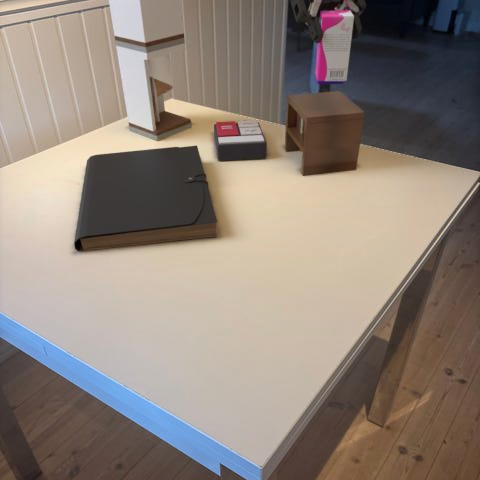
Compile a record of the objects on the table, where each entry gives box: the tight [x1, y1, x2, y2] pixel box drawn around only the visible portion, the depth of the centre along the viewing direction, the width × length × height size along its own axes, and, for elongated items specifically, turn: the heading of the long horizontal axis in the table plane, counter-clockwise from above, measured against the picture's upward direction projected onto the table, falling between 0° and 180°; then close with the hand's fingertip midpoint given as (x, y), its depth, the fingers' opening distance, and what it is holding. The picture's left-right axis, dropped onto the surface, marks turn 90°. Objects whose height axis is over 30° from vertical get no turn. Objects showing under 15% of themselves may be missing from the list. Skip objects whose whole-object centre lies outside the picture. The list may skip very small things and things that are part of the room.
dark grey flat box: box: [213, 119, 268, 162], centre depth 113 cm, size 11×4×15 cm
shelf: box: [284, 90, 366, 176], centre depth 105 cm, size 12×14×12 cm
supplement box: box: [314, 9, 354, 85], centre depth 92 cm, size 6×6×12 cm
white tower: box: [108, 0, 192, 142], centre depth 112 cm, size 11×11×35 cm
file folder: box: [73, 145, 218, 252], centre depth 94 cm, size 33×4×24 cm
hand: (338, 38), depth 90 cm, fingers closed on supplement box, 7 cm apart
